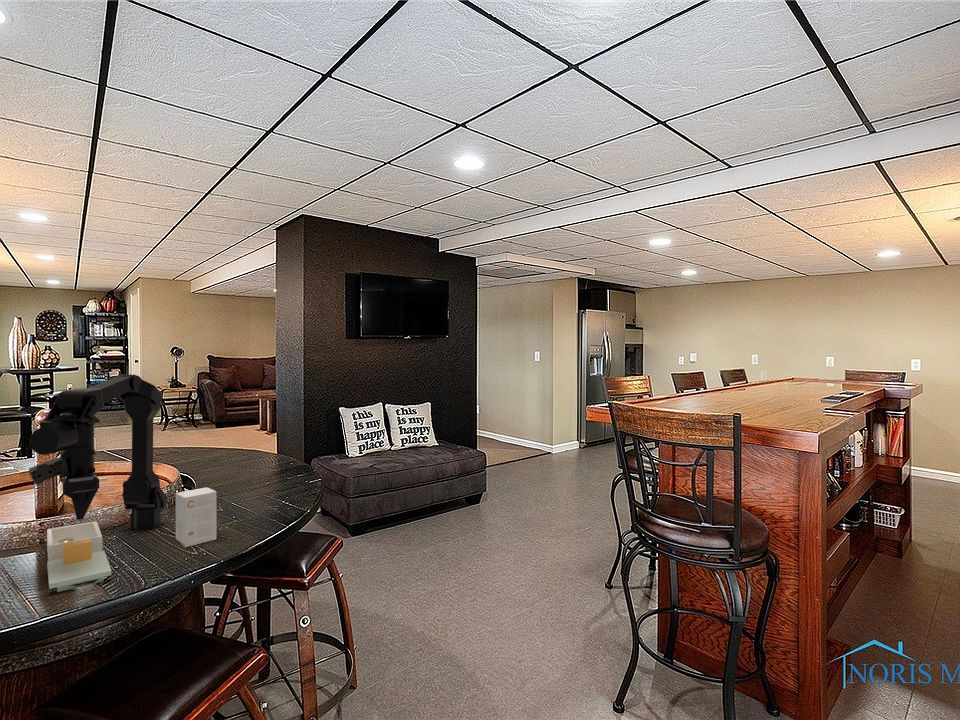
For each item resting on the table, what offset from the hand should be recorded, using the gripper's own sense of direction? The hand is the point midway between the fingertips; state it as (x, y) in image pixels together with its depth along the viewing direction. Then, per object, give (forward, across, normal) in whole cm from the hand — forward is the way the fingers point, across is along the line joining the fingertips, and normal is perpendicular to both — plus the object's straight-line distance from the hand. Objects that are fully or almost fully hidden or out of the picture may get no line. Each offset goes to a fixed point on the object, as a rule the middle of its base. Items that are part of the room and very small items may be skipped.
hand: (78, 514), depth 118 cm
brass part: (+12, -15, -2) cm, 20 cm away
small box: (+13, -4, +25) cm, 28 cm away
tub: (+13, -13, 0) cm, 18 cm away
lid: (+13, +4, 0) cm, 14 cm away
